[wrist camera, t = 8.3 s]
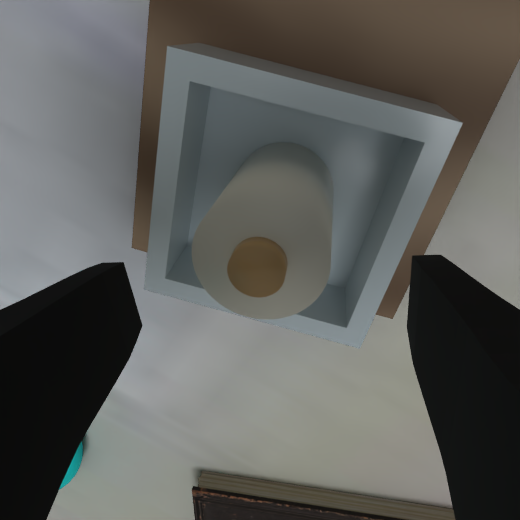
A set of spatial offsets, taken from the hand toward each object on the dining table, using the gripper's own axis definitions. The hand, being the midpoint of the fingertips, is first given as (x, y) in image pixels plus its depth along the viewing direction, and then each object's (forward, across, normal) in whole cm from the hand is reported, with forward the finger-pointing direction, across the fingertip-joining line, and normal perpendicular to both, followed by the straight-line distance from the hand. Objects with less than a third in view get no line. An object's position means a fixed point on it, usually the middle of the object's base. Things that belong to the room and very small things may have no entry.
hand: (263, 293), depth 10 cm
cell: (+8, 0, 0) cm, 8 cm away
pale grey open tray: (+8, 0, 0) cm, 8 cm away
